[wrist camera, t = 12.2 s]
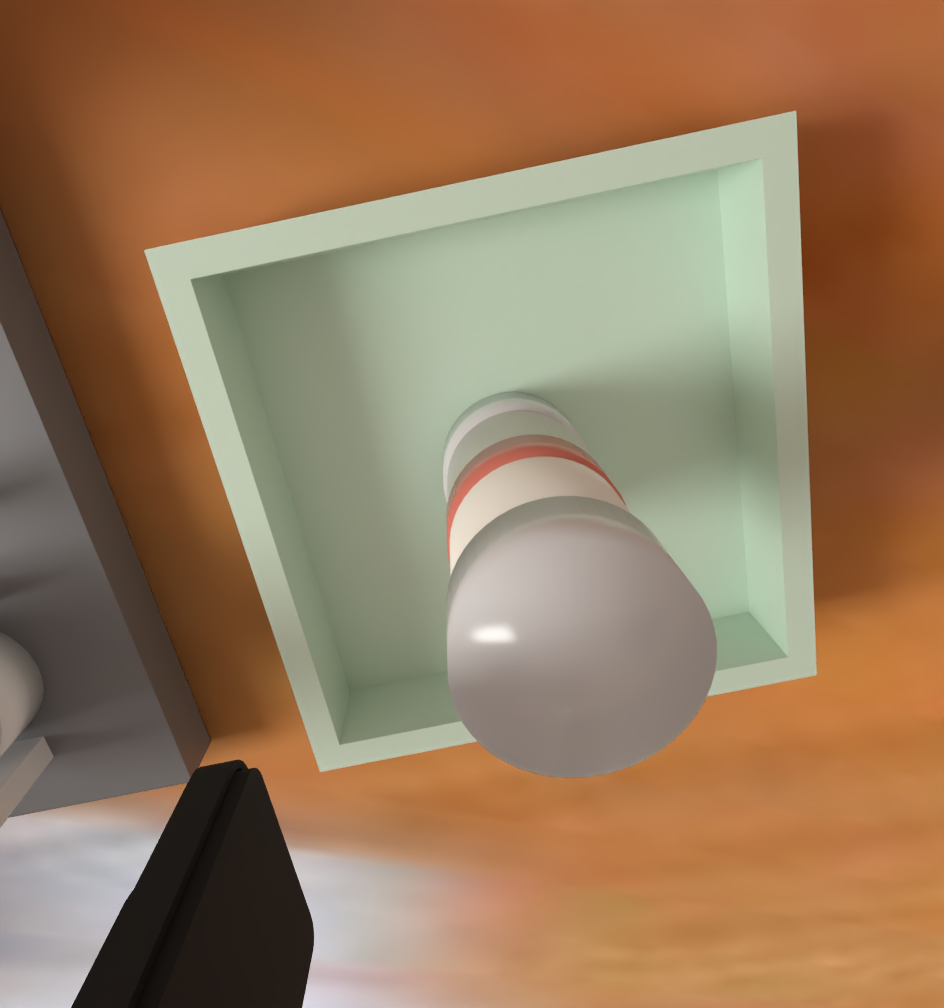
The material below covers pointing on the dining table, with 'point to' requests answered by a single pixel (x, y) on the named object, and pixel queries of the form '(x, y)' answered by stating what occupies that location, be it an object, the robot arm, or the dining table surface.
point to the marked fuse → (561, 601)
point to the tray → (497, 369)
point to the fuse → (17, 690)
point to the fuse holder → (76, 594)
